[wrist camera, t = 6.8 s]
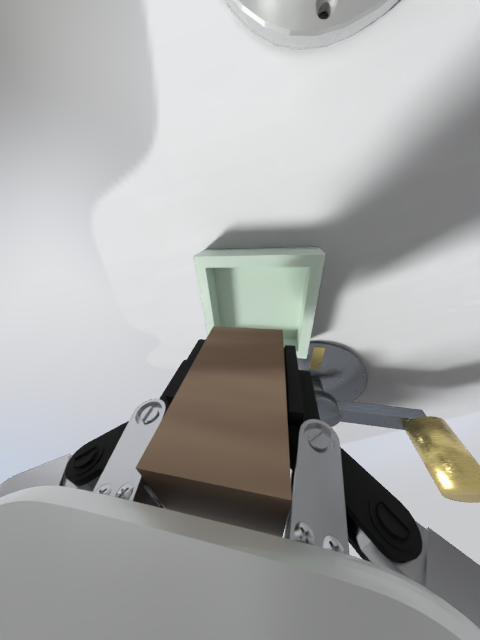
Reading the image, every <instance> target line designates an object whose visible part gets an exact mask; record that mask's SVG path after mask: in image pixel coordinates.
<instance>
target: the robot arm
mask: <svg viewBox="0 0 480 640" xmlns="http://www.w3.org/2000/svg"><path fill="white" fill-rule="evenodd" d="M225 1H226V3H227V4H228V6H229V7H230V9H231V10H232V12H233V13H234V14H235V15H236V16H237V17H238V18H239V19H240V20H241V21H242V22H243V23H244V24H245V25H246V26H247V27H248V28H249V29H250V30H251V31H252V32H253V33H254V34H256V35H258V36H260V37H262V38H264V39H265V40H267V41H269V42H271V43H273V44H275V45H277V46H282V47H288V48H294V49H299V50H302V49H310V48H317V47H325V46H328V45H330V44H333V43H335V42H338V41H340V40H343V39H345V38H347V37H350V36H352V35H354V34H356V33H357V32H359V31H360V30H362V29H363V28H365V27H366V26H368V25H369V24H371V23H372V22H373V21H375V20H376V19H378V18H379V17H381V16H382V15H384V14H385V13H386V12H387V11H388V10H389V9H390V8H391V7H392V6H393V5H395V4H396V3H397V2H398V1H399V0H225ZM323 11H325V12H327V14H328V18H327V19H325V20H324V19H320V18H319V17H318V16H319V14H320V13H321V12H323ZM204 342H205V340H202V339H200V340H198V342H197V344H196V345H195V347H194V349H193V350H192V352H191V354H190V355H189V357H188V359H187V360H184V361H183V362H182V363H181V365H180V367H179V368H178V370H177V372H176V373H175V375H174V376H173V378H172V380H171V381H170V383H169V385H168V386H167V388H166V389H165V391H164V392H163V394H162V396H161V397H160V399H150V400H148V401H145V402H144V403H142V404H141V405H140V406H139V407H137V409H136V410H135V411H134V413H133V414H132V416H131V418H130V421H128V422H126V423H124V424H122V425H120V426H118V427H117V428H115V429H113V430H111V431H109V432H107V433H105V434H103V435H102V436H100V437H98V438H96V439H94V440H92V441H90V442H88V443H87V444H85V445H84V446H82V447H81V448H80V449H79V450H77V451H76V453H75V454H74V455H71V454H68V455H65V456H63V457H60V458H58V459H55V460H52V461H50V462H47V463H45V464H42V465H40V466H37V467H35V468H32V469H30V470H27V471H24V472H22V473H19V474H17V475H15V476H13V477H11V478H9V479H7V480H6V481H5V482H3V483H2V484H1V485H0V640H480V565H478V564H477V563H476V562H474V561H473V560H472V559H470V558H469V557H468V556H466V555H465V554H464V553H462V552H461V551H460V550H458V549H457V548H456V547H454V546H453V545H452V544H450V543H449V542H447V541H446V540H445V539H443V538H442V537H441V536H439V535H438V534H437V533H435V532H434V531H432V530H431V529H430V528H429V527H428V528H427V529H425V528H424V527H423V526H421V525H420V524H419V523H417V522H416V521H415V520H414V519H413V517H412V516H411V514H410V513H409V511H408V510H407V509H406V508H405V507H404V506H403V505H402V503H400V501H399V500H397V499H396V498H395V497H394V496H393V495H392V494H391V493H390V492H389V491H388V490H387V489H385V488H384V487H383V486H382V485H381V484H380V483H379V482H378V481H377V480H375V479H374V477H372V476H371V475H370V474H369V473H368V472H367V471H366V470H365V469H364V468H362V466H360V465H359V464H358V463H357V462H356V461H355V460H354V459H353V458H352V457H351V456H350V455H348V454H347V453H346V452H345V451H344V450H343V449H342V448H341V447H340V442H339V438H338V436H337V434H336V432H335V431H334V430H333V429H332V428H331V426H329V425H328V424H327V423H325V422H323V421H321V420H320V417H319V412H318V407H317V402H316V397H315V393H314V388H313V383H312V378H311V374H310V371H307V370H299V369H298V361H297V354H296V347H295V345H285V347H284V364H285V382H286V401H287V420H288V439H289V458H290V468H291V469H292V472H291V495H292V501H291V505H290V509H289V513H288V517H287V521H286V527H285V536H284V538H282V537H278V536H274V535H270V534H266V533H262V532H258V531H254V530H250V529H246V528H242V527H238V526H234V525H230V524H226V523H221V522H217V521H213V520H209V519H205V518H201V517H197V516H193V515H188V514H184V513H180V512H176V511H172V510H168V509H166V508H165V506H164V505H163V504H162V502H161V501H160V500H159V498H158V497H157V496H156V494H155V493H154V492H153V491H152V489H151V488H150V487H149V485H148V484H147V483H146V481H145V480H144V479H143V477H142V476H141V475H140V473H139V472H138V471H137V469H136V466H137V464H138V462H139V461H140V459H141V457H142V455H143V453H144V451H145V450H146V448H147V446H148V444H149V442H150V441H151V439H152V437H153V435H154V433H155V431H156V430H157V428H158V426H159V424H160V422H161V421H162V419H163V417H164V415H165V413H166V411H167V410H168V408H169V406H170V404H171V402H172V400H173V399H174V397H175V395H176V393H177V391H178V390H179V388H180V386H181V384H182V382H183V380H184V379H185V377H186V375H187V373H188V371H189V370H190V368H191V366H192V364H193V362H194V360H195V359H196V357H197V355H198V353H199V351H200V350H201V348H202V346H203V344H204ZM348 541H349V543H350V544H351V545H352V546H353V548H354V549H355V550H356V552H357V553H358V554H359V555H360V557H361V558H362V559H360V558H357V557H354V556H351V555H349V544H348Z"/></svg>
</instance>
